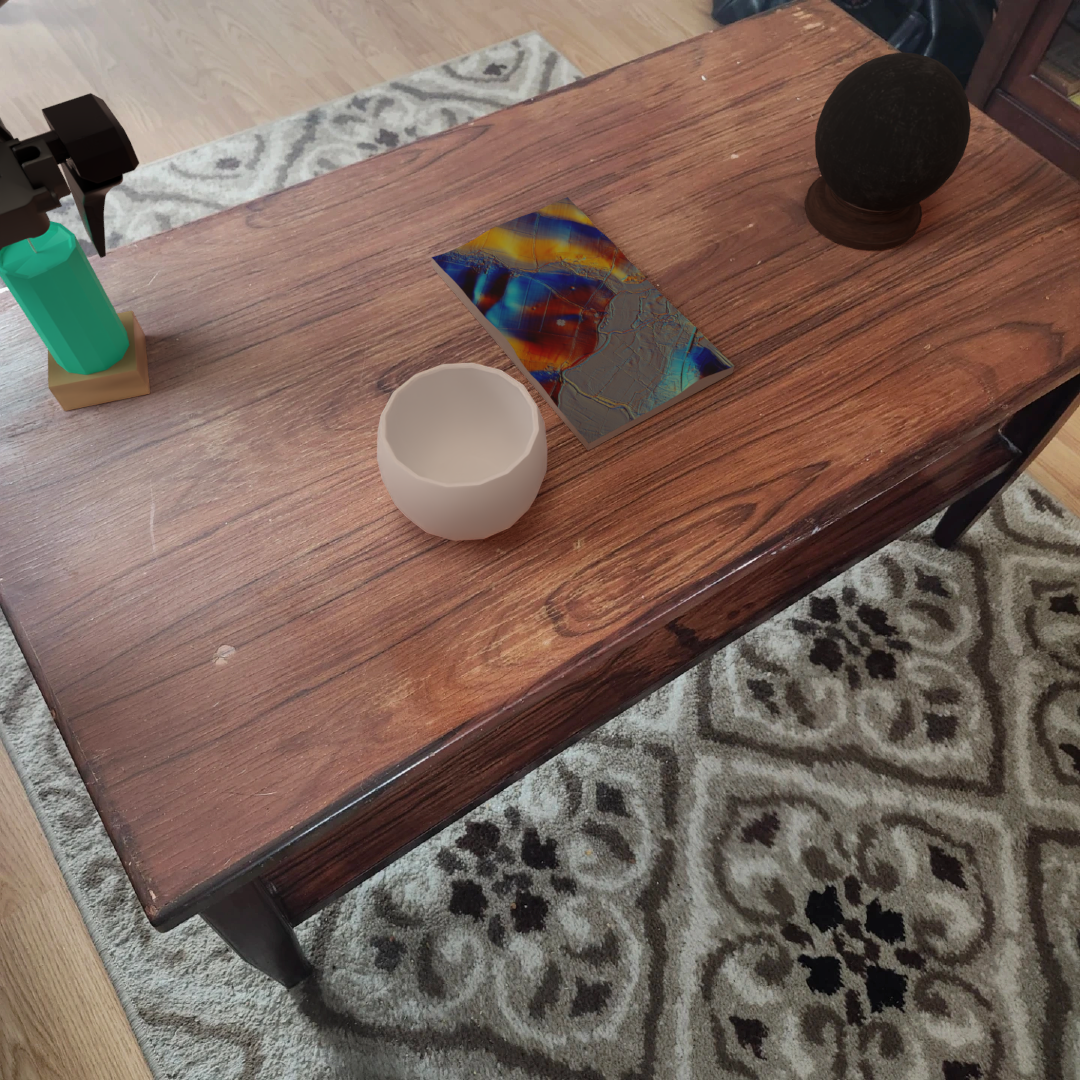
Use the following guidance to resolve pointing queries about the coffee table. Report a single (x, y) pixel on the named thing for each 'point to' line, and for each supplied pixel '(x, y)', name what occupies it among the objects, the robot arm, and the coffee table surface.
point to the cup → (462, 450)
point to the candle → (64, 300)
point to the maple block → (105, 374)
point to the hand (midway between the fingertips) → (39, 277)
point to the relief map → (580, 321)
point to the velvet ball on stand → (886, 149)
